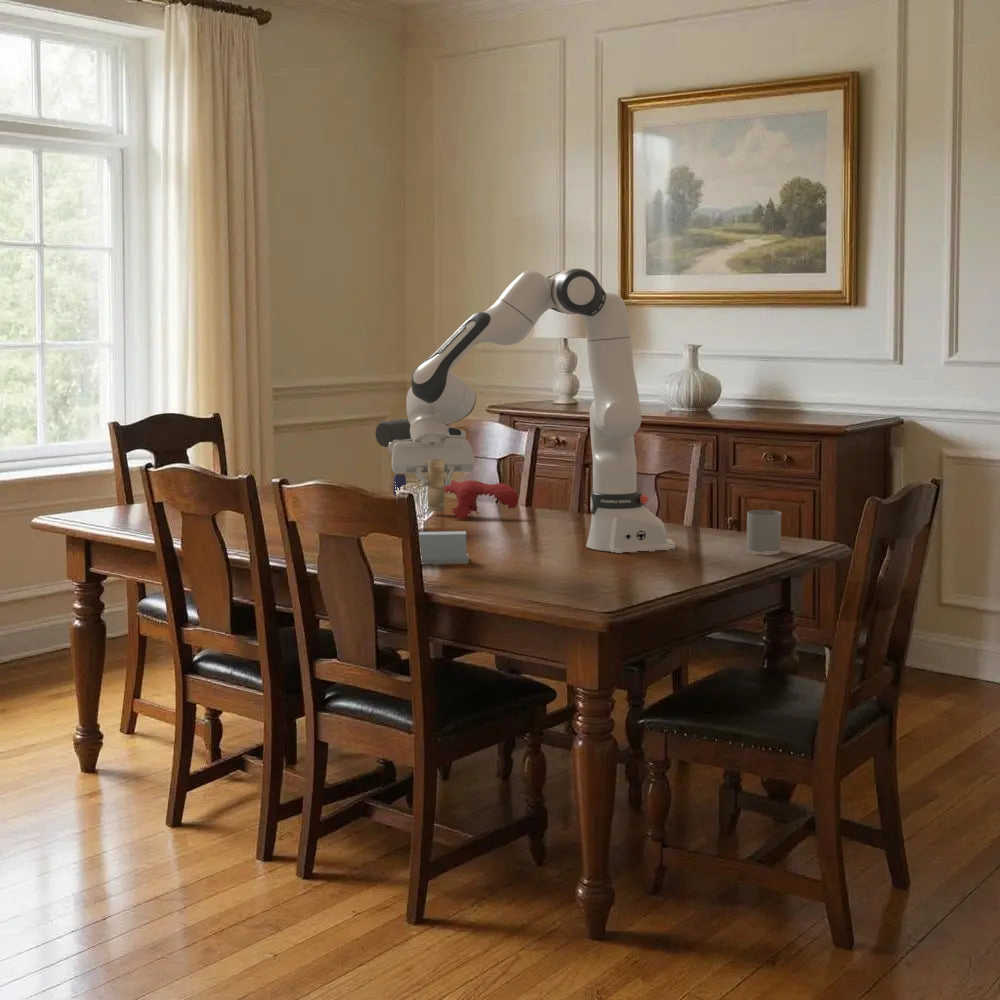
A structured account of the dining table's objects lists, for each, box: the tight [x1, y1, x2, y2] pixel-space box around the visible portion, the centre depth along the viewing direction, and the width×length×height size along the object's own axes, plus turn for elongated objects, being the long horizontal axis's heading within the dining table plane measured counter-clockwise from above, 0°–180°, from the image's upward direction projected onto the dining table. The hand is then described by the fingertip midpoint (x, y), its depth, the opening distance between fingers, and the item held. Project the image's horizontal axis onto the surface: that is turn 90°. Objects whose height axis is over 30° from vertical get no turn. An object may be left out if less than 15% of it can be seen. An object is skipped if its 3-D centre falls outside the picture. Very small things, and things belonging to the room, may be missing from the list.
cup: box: [746, 509, 782, 552], centre depth 345 cm, size 8×8×10 cm
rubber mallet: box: [374, 418, 411, 495], centre depth 384 cm, size 12×8×30 cm, turn 136°
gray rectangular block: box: [418, 530, 470, 566], centre depth 336 cm, size 15×7×7 cm, turn 93°
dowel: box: [427, 460, 446, 512], centre depth 334 cm, size 4×4×12 cm
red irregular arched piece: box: [445, 479, 519, 520], centre depth 402 cm, size 28×9×15 cm
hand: (436, 484), depth 333 cm, fingers closed on dowel, 4 cm apart
